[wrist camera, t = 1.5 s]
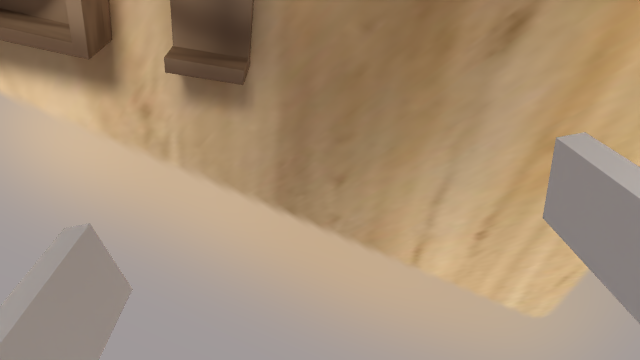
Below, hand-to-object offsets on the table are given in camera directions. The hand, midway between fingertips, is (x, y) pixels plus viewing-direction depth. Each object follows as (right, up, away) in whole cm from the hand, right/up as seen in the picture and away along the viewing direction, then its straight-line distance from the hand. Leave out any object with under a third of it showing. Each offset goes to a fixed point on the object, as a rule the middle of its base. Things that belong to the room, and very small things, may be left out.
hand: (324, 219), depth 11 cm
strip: (-9, +14, +19) cm, 25 cm away
